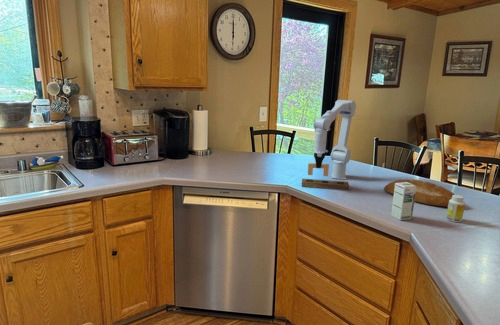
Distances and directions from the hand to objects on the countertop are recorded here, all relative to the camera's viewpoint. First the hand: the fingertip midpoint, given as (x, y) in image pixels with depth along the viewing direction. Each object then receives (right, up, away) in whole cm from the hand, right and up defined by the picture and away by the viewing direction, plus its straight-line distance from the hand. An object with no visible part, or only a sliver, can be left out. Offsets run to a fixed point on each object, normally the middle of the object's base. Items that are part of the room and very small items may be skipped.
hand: (318, 167), depth 174 cm
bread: (+47, -15, -12) cm, 51 cm away
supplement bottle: (+48, -21, -37) cm, 64 cm away
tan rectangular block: (0, -4, +1) cm, 4 cm away
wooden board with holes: (+4, -10, +2) cm, 11 cm away
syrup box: (+27, -20, -36) cm, 49 cm away
